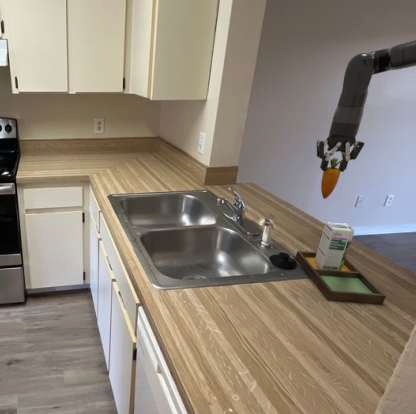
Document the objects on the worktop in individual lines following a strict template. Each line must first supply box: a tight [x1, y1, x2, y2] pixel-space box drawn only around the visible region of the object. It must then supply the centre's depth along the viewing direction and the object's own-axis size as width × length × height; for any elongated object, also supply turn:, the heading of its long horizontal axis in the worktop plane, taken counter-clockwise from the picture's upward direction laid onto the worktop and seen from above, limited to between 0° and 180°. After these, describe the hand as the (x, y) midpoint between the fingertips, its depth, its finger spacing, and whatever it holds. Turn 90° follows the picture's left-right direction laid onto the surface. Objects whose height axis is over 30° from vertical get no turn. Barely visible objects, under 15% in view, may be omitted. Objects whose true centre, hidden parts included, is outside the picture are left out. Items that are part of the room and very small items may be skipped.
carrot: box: [320, 157, 343, 200], centre depth 115 cm, size 5×5×15 cm
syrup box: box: [315, 221, 355, 271], centre depth 103 cm, size 6×6×14 cm
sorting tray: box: [295, 250, 387, 305], centre depth 101 cm, size 14×22×3 cm, turn 172°
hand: (332, 170), depth 114 cm, fingers closed on carrot, 5 cm apart
